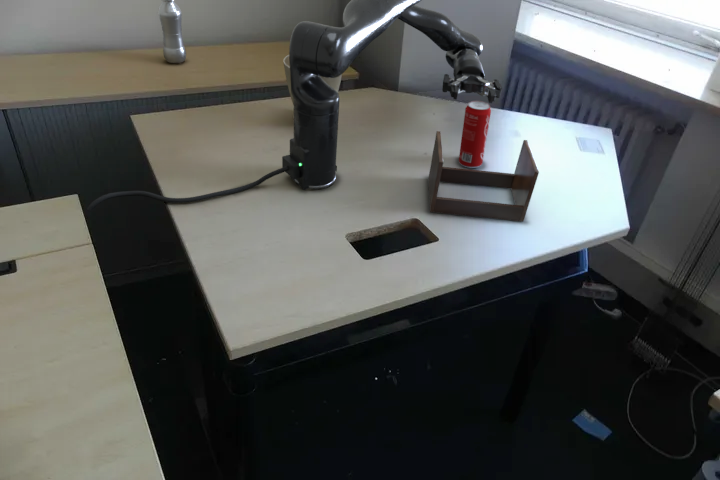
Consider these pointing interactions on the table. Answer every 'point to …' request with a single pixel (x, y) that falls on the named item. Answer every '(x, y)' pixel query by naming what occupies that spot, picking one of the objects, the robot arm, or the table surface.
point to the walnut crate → (517, 182)
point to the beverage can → (474, 134)
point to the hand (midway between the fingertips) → (473, 97)
